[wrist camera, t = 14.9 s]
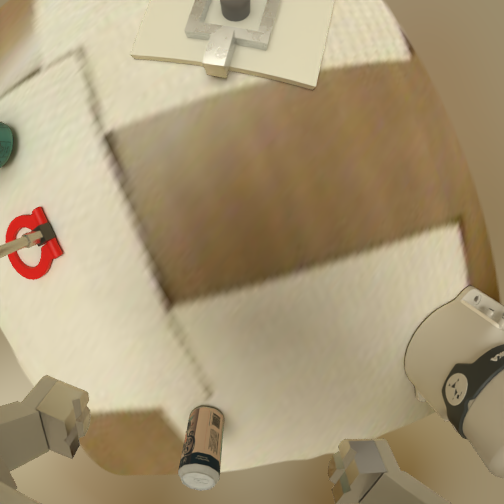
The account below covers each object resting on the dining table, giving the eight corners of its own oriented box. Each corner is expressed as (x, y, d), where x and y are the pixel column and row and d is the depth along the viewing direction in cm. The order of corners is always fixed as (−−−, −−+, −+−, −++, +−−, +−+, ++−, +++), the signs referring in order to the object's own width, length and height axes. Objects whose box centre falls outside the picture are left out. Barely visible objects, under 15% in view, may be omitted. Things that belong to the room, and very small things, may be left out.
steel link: (257, 84, 29) (259, 73, 26) (177, 70, 29) (168, 58, 25) (282, -10, 27) (286, -27, 23) (208, -21, 26) (204, -39, 22)
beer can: (188, 403, 40) (173, 469, 29) (222, 404, 40) (216, 471, 29) (192, 427, 41) (181, 490, 30) (225, 427, 42) (221, 492, 30)
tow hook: (28, 285, 36) (69, 258, 35) (-33, 325, 24) (2, 297, 23) (2, 232, 35) (41, 198, 33) (-64, 257, 22) (-33, 217, 21)
